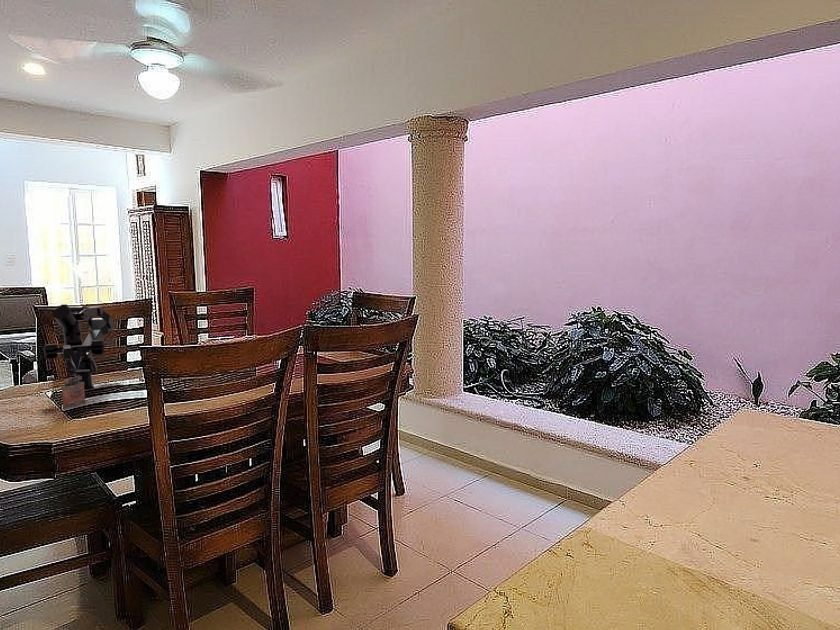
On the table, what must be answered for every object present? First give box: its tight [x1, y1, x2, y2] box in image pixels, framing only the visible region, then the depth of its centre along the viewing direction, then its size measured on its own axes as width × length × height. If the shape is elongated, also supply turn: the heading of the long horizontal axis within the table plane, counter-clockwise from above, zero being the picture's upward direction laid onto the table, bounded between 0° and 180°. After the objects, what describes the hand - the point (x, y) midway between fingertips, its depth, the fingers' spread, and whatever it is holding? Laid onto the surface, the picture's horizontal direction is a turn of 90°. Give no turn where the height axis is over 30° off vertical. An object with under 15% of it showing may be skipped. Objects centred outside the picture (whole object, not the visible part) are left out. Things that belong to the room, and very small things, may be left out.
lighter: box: [60, 376, 87, 409], centre depth 199 cm, size 8×3×10 cm, turn 161°
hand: (76, 368), depth 207 cm, fingers closed
